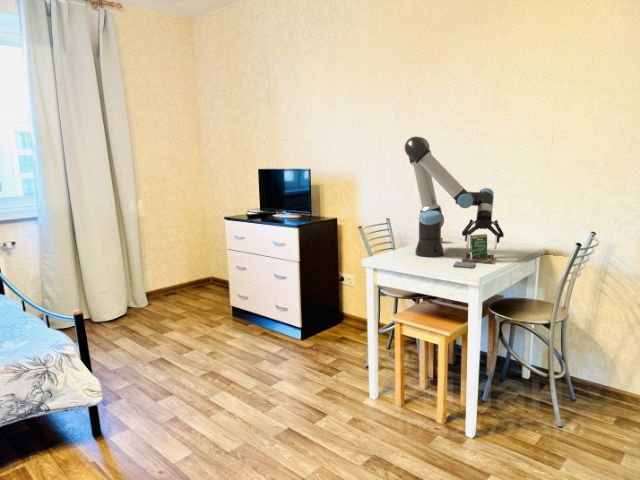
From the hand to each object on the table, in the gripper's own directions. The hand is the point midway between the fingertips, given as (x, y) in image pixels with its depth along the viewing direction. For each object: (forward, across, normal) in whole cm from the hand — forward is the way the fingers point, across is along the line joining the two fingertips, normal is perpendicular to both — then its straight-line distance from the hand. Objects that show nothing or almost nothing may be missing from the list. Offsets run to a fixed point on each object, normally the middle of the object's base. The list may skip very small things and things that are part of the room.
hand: (481, 247), depth 225 cm
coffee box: (+5, +1, -5) cm, 7 cm away
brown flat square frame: (+5, +1, -5) cm, 7 cm away
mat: (+15, +6, +6) cm, 18 cm away
